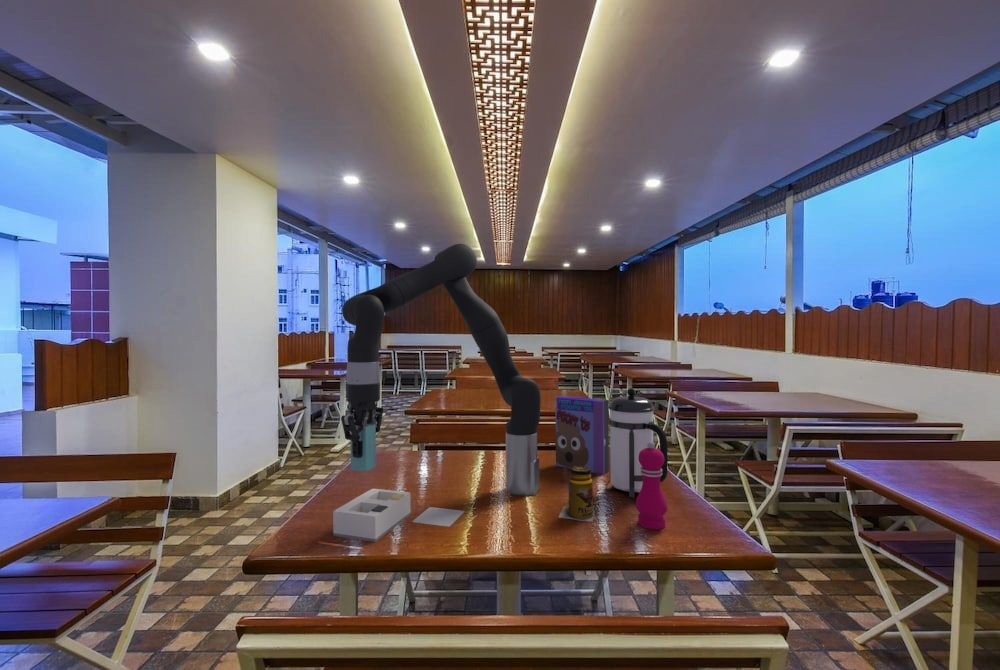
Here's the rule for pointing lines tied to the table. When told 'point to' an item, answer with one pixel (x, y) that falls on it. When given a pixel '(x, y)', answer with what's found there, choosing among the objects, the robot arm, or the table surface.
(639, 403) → the coffee press
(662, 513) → the pepper mill
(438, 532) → the table surface
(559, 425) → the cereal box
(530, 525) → the table surface
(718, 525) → the table surface
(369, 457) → the plug
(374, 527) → the socket box
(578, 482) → the condiment
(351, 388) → the robot arm
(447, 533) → the table surface
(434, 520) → the mat
